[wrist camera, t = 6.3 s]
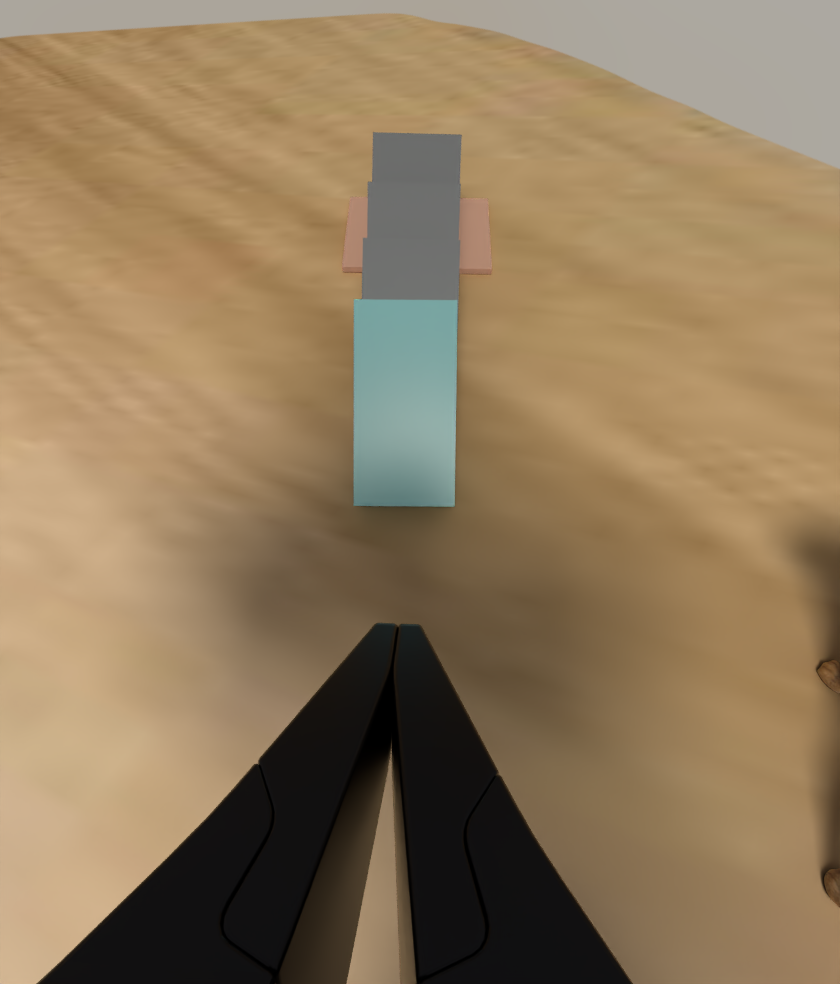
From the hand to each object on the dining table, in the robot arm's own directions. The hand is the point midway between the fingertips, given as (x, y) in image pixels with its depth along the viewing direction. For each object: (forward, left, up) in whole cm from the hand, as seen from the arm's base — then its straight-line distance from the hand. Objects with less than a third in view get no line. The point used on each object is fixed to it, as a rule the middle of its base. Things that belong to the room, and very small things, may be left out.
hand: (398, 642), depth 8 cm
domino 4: (+8, +1, -13) cm, 15 cm away
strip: (+28, 0, -13) cm, 31 cm away
